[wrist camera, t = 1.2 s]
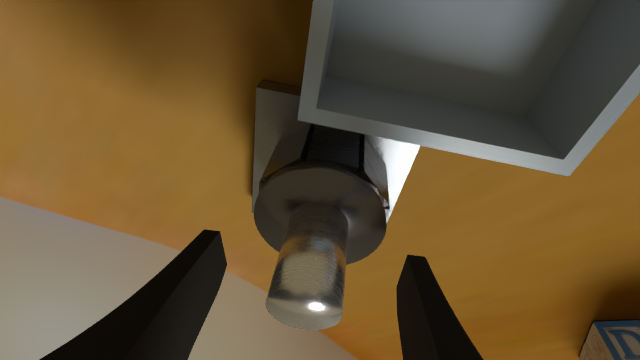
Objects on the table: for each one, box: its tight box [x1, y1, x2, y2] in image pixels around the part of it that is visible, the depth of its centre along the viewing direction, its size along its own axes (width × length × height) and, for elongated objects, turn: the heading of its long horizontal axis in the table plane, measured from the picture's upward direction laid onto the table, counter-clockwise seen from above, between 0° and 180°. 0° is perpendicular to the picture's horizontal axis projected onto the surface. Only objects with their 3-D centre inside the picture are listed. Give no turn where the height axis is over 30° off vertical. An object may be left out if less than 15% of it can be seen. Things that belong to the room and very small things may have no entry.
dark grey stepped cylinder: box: [254, 123, 390, 330], centre depth 13 cm, size 6×6×8 cm
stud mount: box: [252, 80, 420, 224], centre depth 16 cm, size 8×8×4 cm
